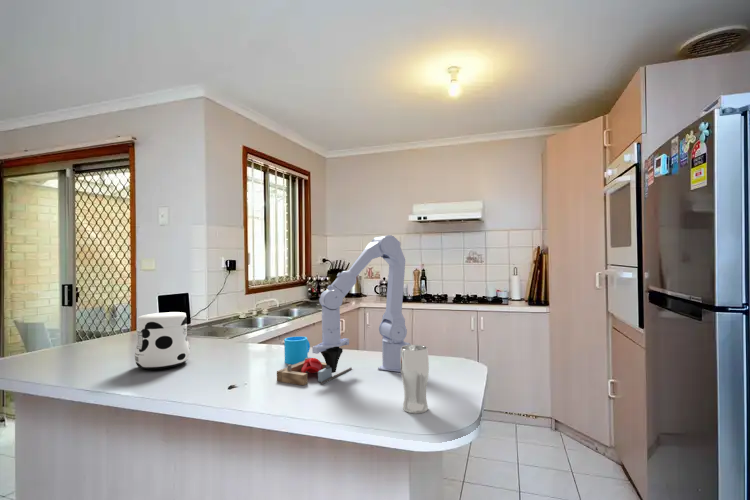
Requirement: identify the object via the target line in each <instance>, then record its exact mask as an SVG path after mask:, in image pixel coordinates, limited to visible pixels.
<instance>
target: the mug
mask: <svg viewBox="0 0 750 500" xmlns="http://www.w3.org/2000/svg"><path fill="white" fill-rule="evenodd" d="M283 343H284V344H283V345H284V346H283V347H284V364H287V365H294V364H297V363H299V362H302V361H304V360H305V358H308V355H309V352H310V349H311V343H310V341H309V340H308V337H307V336H301V335H300V336H299V335H298V336H289V337H285V338H284V342H283ZM308 359H309V358H308Z"/></svg>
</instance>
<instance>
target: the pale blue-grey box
mask: <svg viewBox="0 0 750 500" xmlns="http://www.w3.org/2000/svg"><path fill="white" fill-rule="evenodd" d="M332 376H333V373H332V368H331V367H330V365H326V368H324V369H322V370H320V371H318V373H317V382H318V383H319V382H320V383H321V382H322V381H324V380H326V379H328V378H330V377H332Z"/></svg>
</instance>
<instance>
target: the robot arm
mask: <svg viewBox="0 0 750 500" xmlns="http://www.w3.org/2000/svg"><path fill="white" fill-rule="evenodd" d="M401 245H402V243H401V242H400V241H399V240H398V238H396V236H393V235H392V234H391V235H390V234H388V235H383V236H381V235H380V236H379V235H378V236H375V237H373V239H371V241H370V242H369V243H368V244H367V245H366V246H365V248H364V249H363V251H362V252H361V253H360V254H359V256H358V257H357V258H356V260H355V261H354V262H353V264H352V265H351V266H350V267H349V269H348V270H342V271H341V272H338V273H337V275H336V278H335V280H334V281H333V282H332V283H331V284H329V285H327V286H326V288H327V289H326V290H324V291H322V292H321V294H320V296H319V298H318V300H319V304H320V306H321V338H322V339H321V340H322V342H320V343H318V344H316V345H313V346H312V354H320V353H321V355H322V356H323V359H324V361H325V362H324V363H326V365H330V367H331V368H332V374H333V373H336V372H337V368H338V364H339V363H338V362H339V360H340V357H341V356H342V354H343V350H344V349H343V348H342V346H349V345H350V338H347V337H346V338H345V337H344V338H342V337H341V311H340V309H341V306H342V305H343V299H344V298H345V297H346V296H347V295H348V293H350V291H351V289H353V287H355V285H356V283H357V276H359V274H360V273H361V272H362V271H363V270H364V269H365V268H366V267H367V266H368V264H369V263H370V262H371V261H372V260H373V259H377V258H380V257H381V258H382V259H383V260H384V261H385V262H386V263H387V264H388V275H387V276H388V278H387V286H386V287H387V290H386V300H385V301H386V302H385V304H386V306H385V312H384V313H383V315H382V319H381V322H380V323H379V326H378V331H379V334H380V335H381V337H382V340H381V343H382V344H381V350H382V351H381V352H382V364H381V365H380V366H379V367H378V366H377V370H380V371H381V370H382V371H387V372H388V371H391V372H398V373H401V368H400V356H401V347H402V346H405V345H412V344H411V343H410V342H406V341H405V339H406V338H407V333H408V329H407V327H406V318H405V317H404V315H403V312H402V310H403V299H404V288H405V287H404V285H405V284H404V283H405V273H406V272H405V270H406V257H405V254H404V252H403V250H402V248H401Z"/></svg>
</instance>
